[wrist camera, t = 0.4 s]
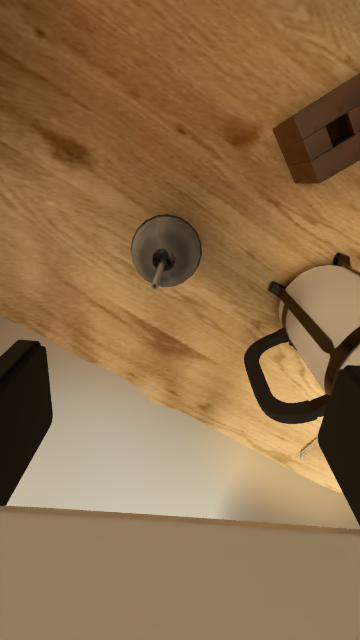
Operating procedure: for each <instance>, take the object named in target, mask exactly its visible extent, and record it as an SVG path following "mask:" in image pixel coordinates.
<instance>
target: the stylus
mask: <svg viewBox="0 0 360 640" xmlns="http://www.w3.org/2000/svg"><path fill="white" fill-rule="evenodd" d="M317 442H318V438H317V439H316V440H315V441H314V442H312V443H311V444H310V445H309V446H308V447H306V448H305V449H304V450H303V451H302V452H300V453H299V454H298V455H297V456H299V455H301V454H302V455H301V456H300V458H301V459H302V458H303V457H304V456H305V455H306V454H307V453H308V452H309V451H310V450H311V449H312V448H313V446H314V445H315V444H316V443H317Z"/></svg>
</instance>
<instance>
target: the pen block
mask: <svg viewBox="0 0 360 640" xmlns="http://www.w3.org/2000/svg"><path fill="white" fill-rule="evenodd" d="M273 131H274V134H275V136H276V138H277V141H278V143H279V146H280V148H281V150H282V153H283V155H284V158H285V160H286V162H287V165H288V167H289V170H290V172H291V174H292V177H293V179H294V182H295V183H321V182H323V181H324V180H326V179H328V178H330V177H331V176H333V175H335V174H337V173H338V172H340V171H342V170H343V169H345V168H347V167H349V166H350V165H352V164H354V163H356V162H357V161H359V160H360V73H359V74H358V75H356V76H354V77H353V78H351V79H350V80H348V81H347V82H345V83H343V84H342V85H340V86H339V87H337V88H336V89H334V90H332V91H331V92H329V93H328V94H326V95H325V96H323V97H322V98H320V99H318V100H317V101H315V102H314V103H312V104H311V105H309V106H307V107H306V108H304V109H303V110H301V111H300V112H298V113H296V114H295V115H293V116H292V117H290V118H289V119H287V120H286V121H284V122H282V123H281V124H279V125H278V126H276V127H275V128H273Z"/></svg>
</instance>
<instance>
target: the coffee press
mask: <svg viewBox="0 0 360 640" xmlns="http://www.w3.org/2000/svg"><path fill="white" fill-rule="evenodd" d="M342 265H343V266H344V267H346V268H348V269H346V268H344V267H342ZM268 291H269V292H271V293H273V294H274V295H276V296H277V297H279V298H280V299H281V301H280V305H279V318H280V322H281V325H282V329H279V330H278V331H277V332H274V333H272V334H269V335H267V336H265V337H263V338H261V339H259V340H258V341H256V342H255V343H253V344H252V345H251V346H250V347H249V348H248V349H247V351H246V353H245V356H244V363H245V367H246V371H247V374H248V377H249V380H250V383H251V386H252V389H253V392H254V395H255V397H256V399H257V401H258V403H259V405H260V407H261V409H262V410H263V412H264V413H265V414H266V415H267V416H269V417H270V418H272V419H273V420H275V421H278V422H281V423H286V424H298V423H305V422H310V421H313V420H316V419H317V417H321V416H324V414H325V411H326V408H327V405H328V402H329V399H330V396H331V392H332V389H333V386H334V383H335V380H336V377H337V374H338V371H339V370H340V369H344V367H345V366H346V365H357V366H360V272H358V271H356V270H355V269H353V268H352V267H351V265H350V257H349V256H347V255H345V254H342V253H337V254H336V256H335V257H334V260H333V265H325V266H319V267H315V268H312V269H309V270H307V271H305V272H303V273H302V274H300V275H299V276H297V277H296V278H295V279H294V280H293V281H292V282H291V283H290V284H289V285H288V287H287V288H286V287H284V286H282V285H280V284H278V283H276V282H272V283H271V285H270V287H269V289H268ZM289 339H290V341H289ZM288 341H289V345H291V346H293V347H294V348H295V349H296V350H297V351H298V352H299V354H300V355H301V357H302V358H303V360H304V362H305V363H306V365H307V366H308V368H309V369H310V371H311V372H312V374H313V375H314V377H315V378H316V380H317V381H318V383H319V384H320V386H321V387H322V389H323V390H324V392H325V393H326V394H325V395H323V396H321V397H318V398H315V399H313V400H311V401H308V400H307V401H303V402H298V403H285V402H282V401H279V400H278V399H276V398H275V397H274V396H273V395H272V394H271V391H270V389H269V387H268V384H267V382H266V379H265V377H264V374H263V372H262V369H261V367H260V364H259V358H260V356H261V355H262V353H263V352H264V351H266V350H267V349H269V348H271V347H273V346H276V345H278V344H280V343H286V342H288Z"/></svg>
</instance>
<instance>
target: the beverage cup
mask: <svg viewBox="0 0 360 640" xmlns="http://www.w3.org/2000/svg"><path fill="white" fill-rule="evenodd" d="M131 253H132V260H133V263H134V265H135V267H136V269H137V271H138V273H139V274H140V275H141V276H142V277H143V278H144V279H145V280H146V281H148V282H150V283H152V288H153V289H157V288H158V286H161V287H170V286H176V285H178V284H181V283H183V282H184V281H185V280H187V279H188V278H189V277H190V276H192V275H193V273H194V272H195V270H196V269H197V267H198V266H199V263H200V259H201V255H202V252H201V242H200V239H199V237H198V234H197V232H196V231H195V230H194V228H193V227H192V226H191V225H190V224H189V223H188V222H186V221H185V220H183V219H182V218H180V217H176V216H172V215H157V216H155V217H152V218H150V219H148V220H146V221H145V222H144V223H143V224H142V225H141V226H140V227H139V228H138V229H137V231H136V233H135V235H134V237H133V240H132V245H131Z"/></svg>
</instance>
